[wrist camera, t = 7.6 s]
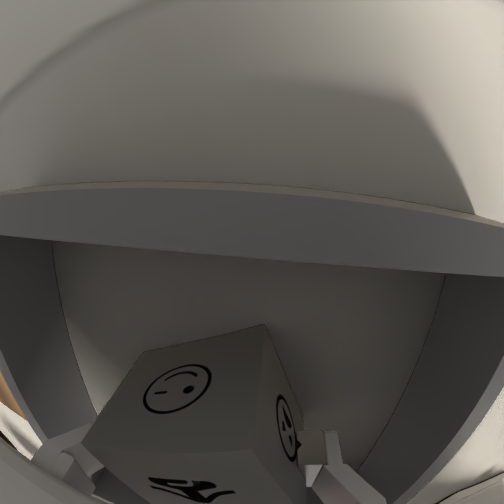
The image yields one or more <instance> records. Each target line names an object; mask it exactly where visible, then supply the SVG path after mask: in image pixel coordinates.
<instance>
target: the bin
mask: <svg viewBox="0 0 504 504" xmlns="http://www.w3.org/2000/svg"><path fill="white" fill-rule="evenodd" d="M51 240H55V241H65V242H76V243H86V244H97V245H108V246H119V247H130V248H141V249H152V250H163V251H174V252H186V253H197V254H209V255H221V256H233V257H244V258H257V259H269V260H281V261H293V262H306V263H318V264H331V265H344V266H357V267H370V268H383V269H396V270H410V271H424V272H438V273H447V274H446V278H445V282H444V286H443V289H442V293H441V297H440V300H439V304H438V307H437V310H436V313H435V316H434V320H433V323H432V326H431V328H430V331H429V334H428V337H427V340H426V342H425V345H424V348H423V350H422V353H421V355H420V358H419V360H418V363H417V365H416V367H415V370H414V372H413V374H412V376H411V379H410V381H409V383H408V385H407V387H406V389H405V391H404V394H403V396H402V398H401V400H400V402H399V404H398V405H397V407H396V409H395V411H394V413H393V415H392V417H391V419H390V420H389V422H388V424H387V426H386V427H385V429H384V431H383V433H382V434H381V436H380V438H379V439H378V441H377V443H376V444H375V446H374V447H373V449H372V450H371V452H370V454H369V455H368V457H367V458H366V460H365V461H364V462H363V464H362V465H361V467H360V468H359V470H358V471H357V472H356V473H357V474H358V475H359V476H360V477H362V478H363V479H364V480H365V481H366V482H367V483H368V484H369V485H371V486H372V487H373V488H374V489H375V490H376V491H377V492H379V493H380V494H381V495H382V496H383V497H384V498H386V503H387V504H406V503H407V502H408V501H409V500H410V499H412V498H413V497H414V496H415V495H416V494H417V493H418V492H419V491H420V490H422V489H423V488H424V487H425V486H426V485H427V484H428V483H429V482H430V481H431V480H432V479H433V478H434V477H435V476H436V475H437V474H438V473H439V472H440V471H441V470H442V469H443V468H444V466H445V465H446V464H447V463H448V462H449V461H450V460H451V459H452V458H453V456H454V455H455V454H456V453H457V452H458V451H459V449H460V448H461V447H462V446H463V445H464V443H465V442H466V441H467V440H468V438H469V437H470V436H471V434H472V433H473V432H474V430H475V429H476V428H477V426H478V425H479V424H480V422H481V421H482V419H483V418H484V416H485V415H486V413H487V412H488V411H489V409H490V407H491V406H492V404H493V403H494V401H495V400H496V398H497V396H498V395H499V393H500V391H501V390H502V388H503V386H504V223H500V222H497V221H494V220H491V219H487V218H484V217H480V216H477V215H472V214H468V213H463V212H459V211H454V210H449V209H444V208H439V207H434V206H429V205H423V204H418V203H412V202H406V201H400V200H394V199H387V198H381V197H374V196H367V195H359V194H352V193H344V192H335V191H326V190H317V189H307V188H297V187H285V186H272V185H258V184H242V183H221V182H190V181H125V182H96V183H77V184H61V185H49V186H37V187H29V188H23V189H16V190H10V191H4V192H0V371H1V373H2V375H3V377H4V379H5V381H6V383H7V385H8V387H9V389H10V391H11V393H12V395H13V397H14V399H15V400H16V402H17V404H18V406H19V407H20V409H21V411H22V413H23V414H24V416H25V418H26V419H27V421H28V422H29V424H30V426H31V427H32V429H33V430H34V432H35V433H36V435H37V436H38V438H39V439H40V440H41V442H42V443H44V442H45V441H46V440H48V439H51V438H54V437H56V436H59V435H62V434H64V433H67V432H69V431H72V430H74V429H77V428H79V427H82V426H84V425H86V424H93V422H94V421H95V419H96V418H97V415H96V412H95V410H94V408H93V405H92V403H91V400H90V398H89V395H88V393H87V390H86V388H85V385H84V382H83V380H82V377H81V374H80V371H79V368H78V365H77V362H76V359H75V356H74V353H73V349H72V346H71V342H70V339H69V335H68V331H67V328H66V324H65V320H64V315H63V311H62V307H61V302H60V297H59V292H58V286H57V281H56V275H55V268H54V261H53V253H52V245H51ZM88 477H89V479H90V480H91V481H92V482H93V483H94V485H95V487H96V488H95V490H94V492H93V494H92V496H93V497H95V498H97V499H99V500H102V501H104V502H106V503H108V504H151V503H149V502H148V501H146V500H145V499H144V498H142V497H141V496H140V495H138V494H137V493H136V492H134V491H133V490H132V489H131V488H129V487H128V486H127V485H126V484H124V483H123V482H122V481H121V480H120V479H118V478H117V477H116V476H115V475H114V474H113V473H111V472H110V471H109V470H108V469H107V468H106V467H103V468H101V469H100V470H98V471H96V472H95V473H93V474H91V475H89V476H88ZM306 491H307V504H324V503H323V502H322V501H321V499H320V498H319V497H318V495H317V494H316V493H315V492H314V490H313V489H312V488H311V487H306Z"/></svg>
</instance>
